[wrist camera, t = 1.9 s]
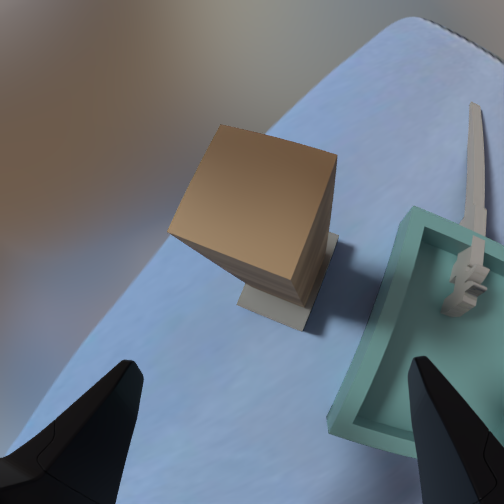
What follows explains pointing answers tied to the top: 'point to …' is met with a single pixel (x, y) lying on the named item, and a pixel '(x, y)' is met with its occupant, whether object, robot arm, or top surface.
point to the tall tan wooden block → (263, 219)
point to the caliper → (471, 227)
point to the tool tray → (424, 338)
